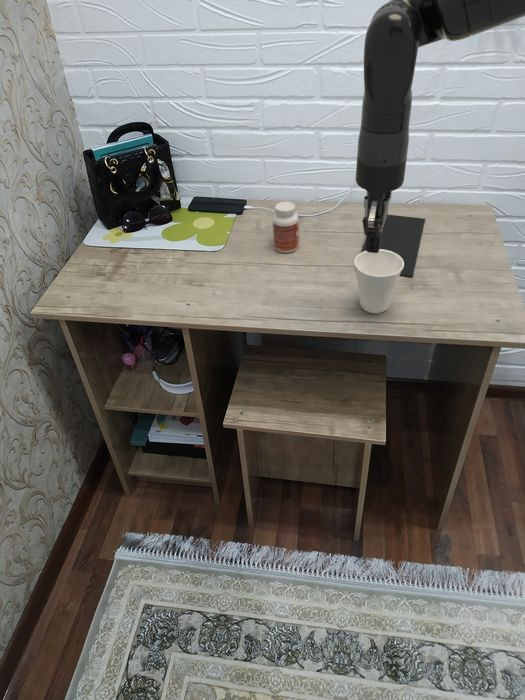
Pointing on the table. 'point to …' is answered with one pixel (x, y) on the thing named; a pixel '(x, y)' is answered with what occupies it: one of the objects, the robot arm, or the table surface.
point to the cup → (377, 278)
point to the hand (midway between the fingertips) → (372, 250)
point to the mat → (402, 239)
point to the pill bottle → (285, 227)
